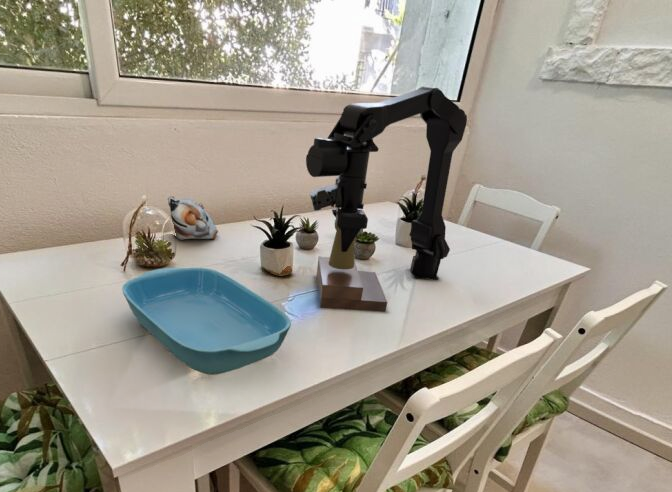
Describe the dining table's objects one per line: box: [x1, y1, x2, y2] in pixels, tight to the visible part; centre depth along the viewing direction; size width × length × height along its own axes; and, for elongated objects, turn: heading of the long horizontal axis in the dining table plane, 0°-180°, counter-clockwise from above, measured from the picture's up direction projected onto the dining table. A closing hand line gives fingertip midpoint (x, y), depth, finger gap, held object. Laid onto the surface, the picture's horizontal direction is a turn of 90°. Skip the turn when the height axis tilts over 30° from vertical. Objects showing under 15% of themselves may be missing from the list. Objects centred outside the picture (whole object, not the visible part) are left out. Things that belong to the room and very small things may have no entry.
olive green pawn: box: [329, 222, 355, 270], centre depth 104 cm, size 6×6×11 cm
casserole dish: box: [121, 267, 292, 376], centre depth 87 cm, size 37×22×7 cm, turn 41°
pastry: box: [264, 265, 293, 277], centre depth 119 cm, size 9×7×4 cm
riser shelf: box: [315, 256, 388, 313], centre depth 110 cm, size 15×18×6 cm
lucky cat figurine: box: [167, 195, 219, 241], centre depth 132 cm, size 15×12×14 cm
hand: (342, 248), depth 105 cm, fingers closed on olive green pawn, 4 cm apart
